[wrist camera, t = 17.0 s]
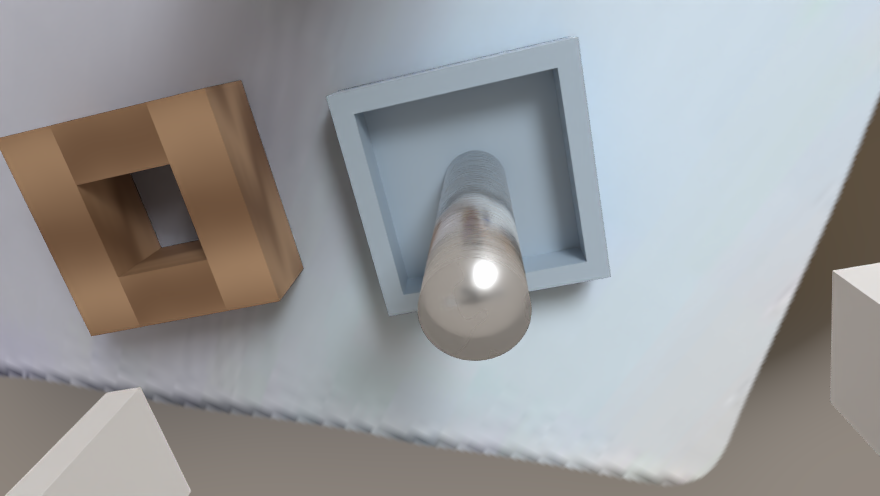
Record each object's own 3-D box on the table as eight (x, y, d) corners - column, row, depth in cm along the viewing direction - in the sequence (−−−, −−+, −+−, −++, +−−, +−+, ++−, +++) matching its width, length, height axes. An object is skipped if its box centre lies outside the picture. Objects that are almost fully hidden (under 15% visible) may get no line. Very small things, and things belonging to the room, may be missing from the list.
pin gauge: (438, 157, 28) (405, 270, 15) (500, 144, 28) (520, 248, 14) (452, 215, 29) (431, 368, 16) (511, 203, 29) (540, 350, 16)
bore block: (57, 124, 29) (-6, 139, 25) (241, 80, 28) (204, 88, 24) (135, 300, 32) (91, 336, 29) (303, 268, 31) (279, 300, 27)
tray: (338, 90, 28) (325, 96, 25) (569, 36, 26) (578, 37, 24) (395, 295, 31) (389, 316, 29) (600, 257, 30) (611, 276, 27)
